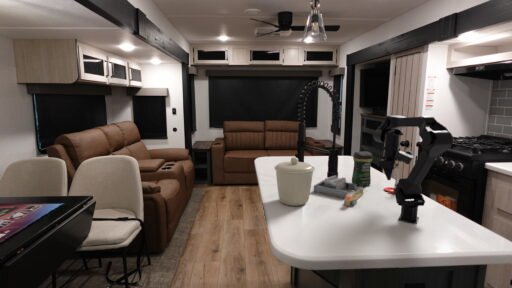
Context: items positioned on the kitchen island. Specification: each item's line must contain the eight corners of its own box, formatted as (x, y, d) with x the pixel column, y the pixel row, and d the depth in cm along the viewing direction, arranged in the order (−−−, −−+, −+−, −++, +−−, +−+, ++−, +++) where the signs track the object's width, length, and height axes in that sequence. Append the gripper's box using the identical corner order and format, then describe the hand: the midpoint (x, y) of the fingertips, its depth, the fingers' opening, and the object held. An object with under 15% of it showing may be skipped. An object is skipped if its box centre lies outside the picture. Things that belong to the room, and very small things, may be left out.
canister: (314, 197, 138) (316, 154, 135) (311, 211, 121) (313, 162, 117) (278, 194, 143) (278, 152, 139) (270, 207, 126) (270, 160, 122)
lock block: (335, 195, 141) (335, 181, 140) (323, 191, 147) (323, 178, 146) (345, 191, 148) (346, 178, 146) (333, 187, 153) (334, 175, 152)
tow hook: (382, 188, 152) (387, 193, 143) (383, 165, 151) (389, 168, 141) (398, 189, 151) (405, 194, 142) (400, 165, 149) (407, 169, 140)
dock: (353, 206, 126) (354, 198, 126) (307, 196, 140) (307, 189, 139) (368, 192, 144) (368, 186, 144) (325, 184, 158) (325, 178, 157)
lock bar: (350, 206, 125) (350, 197, 125) (344, 205, 127) (345, 196, 126) (363, 194, 141) (364, 186, 141) (358, 193, 143) (359, 185, 142)
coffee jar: (357, 187, 153) (358, 153, 151) (349, 182, 161) (351, 150, 158) (373, 186, 155) (375, 152, 152) (364, 181, 163) (366, 150, 160)
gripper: (409, 150, 110) (405, 188, 112) (416, 143, 125) (413, 178, 127) (378, 147, 117) (376, 183, 119) (388, 141, 131) (386, 174, 134)
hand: (389, 180), depth 125 cm, fingers closed
